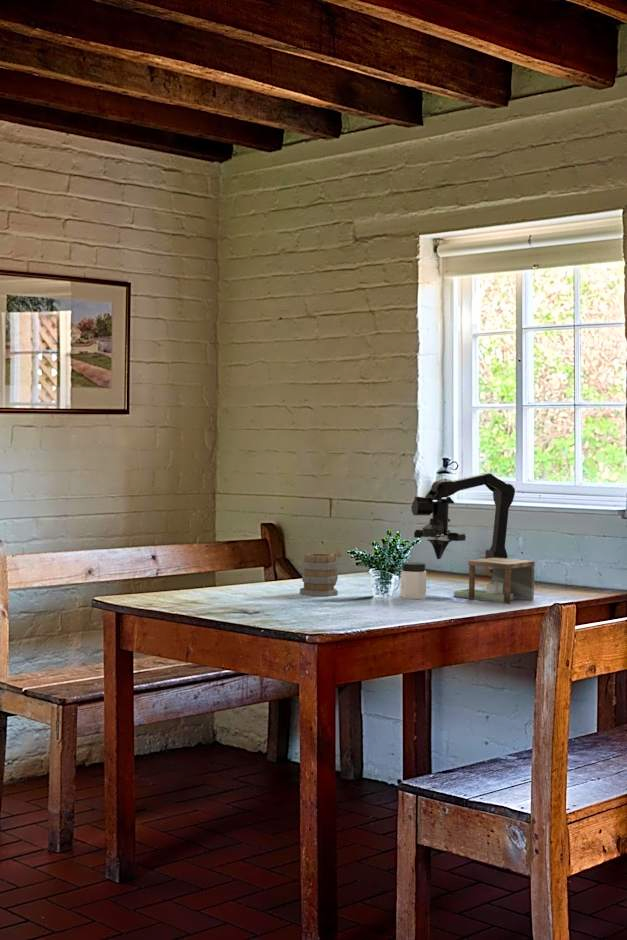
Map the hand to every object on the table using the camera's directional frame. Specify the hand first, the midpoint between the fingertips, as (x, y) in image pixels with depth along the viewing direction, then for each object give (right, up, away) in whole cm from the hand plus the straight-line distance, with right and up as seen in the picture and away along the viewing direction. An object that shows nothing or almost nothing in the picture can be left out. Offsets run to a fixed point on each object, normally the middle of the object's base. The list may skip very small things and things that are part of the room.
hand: (438, 559), depth 461 cm
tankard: (-41, -12, -9) cm, 44 cm away
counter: (+20, -13, -15) cm, 28 cm away
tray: (+15, -13, -11) cm, 23 cm away
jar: (-11, -13, -15) cm, 22 cm away
